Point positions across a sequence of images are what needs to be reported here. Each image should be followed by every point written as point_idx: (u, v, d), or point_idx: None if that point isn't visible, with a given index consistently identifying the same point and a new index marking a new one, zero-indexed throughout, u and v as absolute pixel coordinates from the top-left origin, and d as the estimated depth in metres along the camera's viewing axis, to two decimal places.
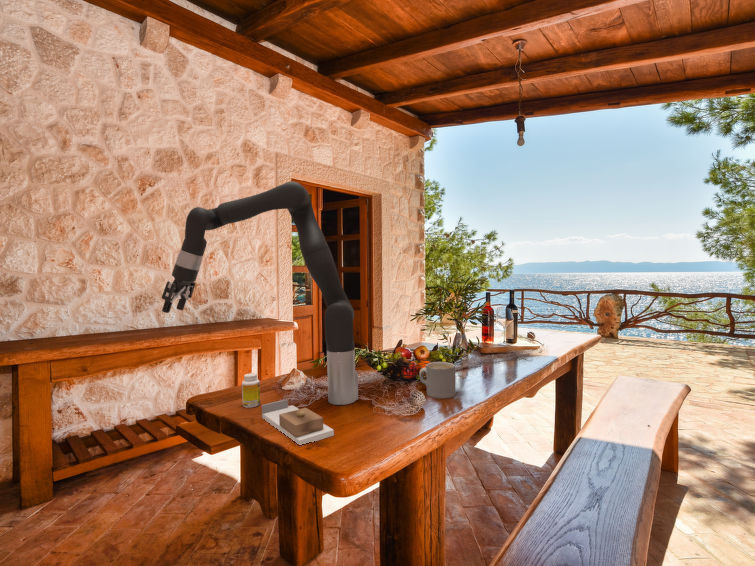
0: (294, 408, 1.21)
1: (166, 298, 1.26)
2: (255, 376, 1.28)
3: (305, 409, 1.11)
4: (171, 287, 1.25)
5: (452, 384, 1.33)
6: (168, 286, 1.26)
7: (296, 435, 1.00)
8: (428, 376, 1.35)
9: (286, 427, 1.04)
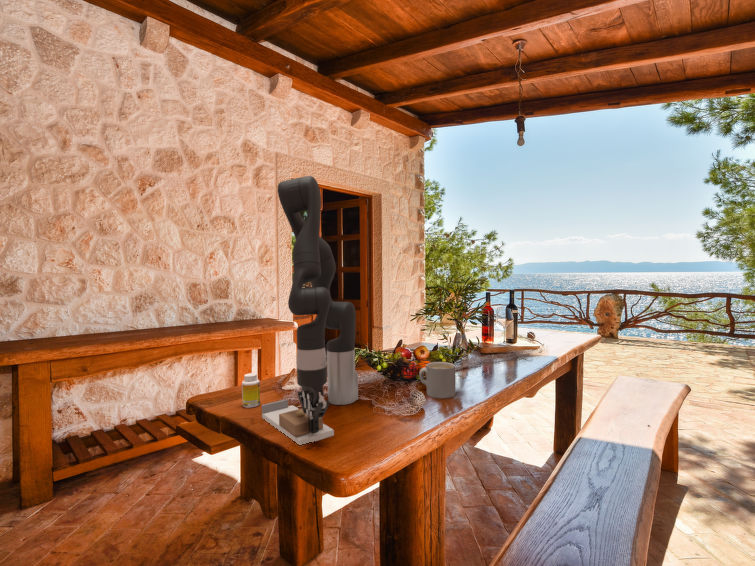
0: (294, 408, 1.21)
1: (320, 415, 0.99)
2: (255, 376, 1.28)
3: None
4: (326, 407, 0.97)
5: (452, 384, 1.33)
6: (322, 408, 0.96)
7: (296, 435, 1.00)
8: (428, 376, 1.35)
9: (286, 426, 1.04)
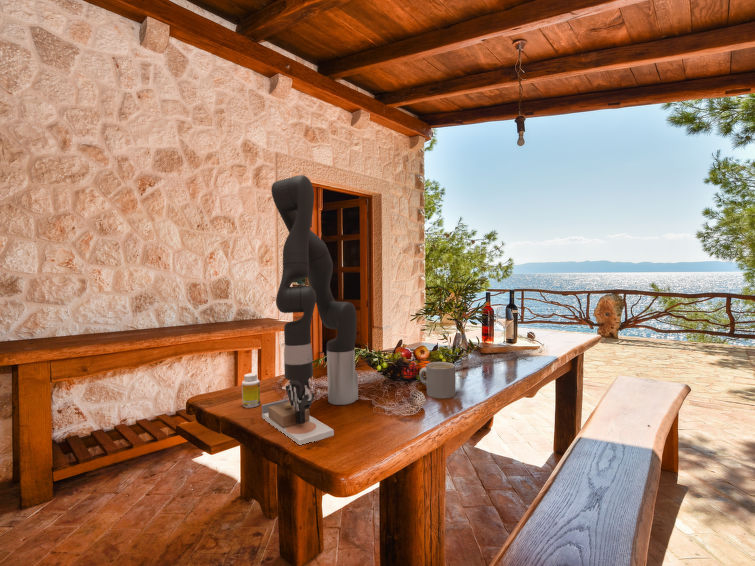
0: None
1: (306, 407, 1.05)
2: (255, 376, 1.28)
3: None
4: (311, 399, 1.03)
5: (452, 384, 1.33)
6: (308, 400, 1.02)
7: (283, 426, 1.06)
8: (428, 376, 1.35)
9: (274, 418, 1.10)
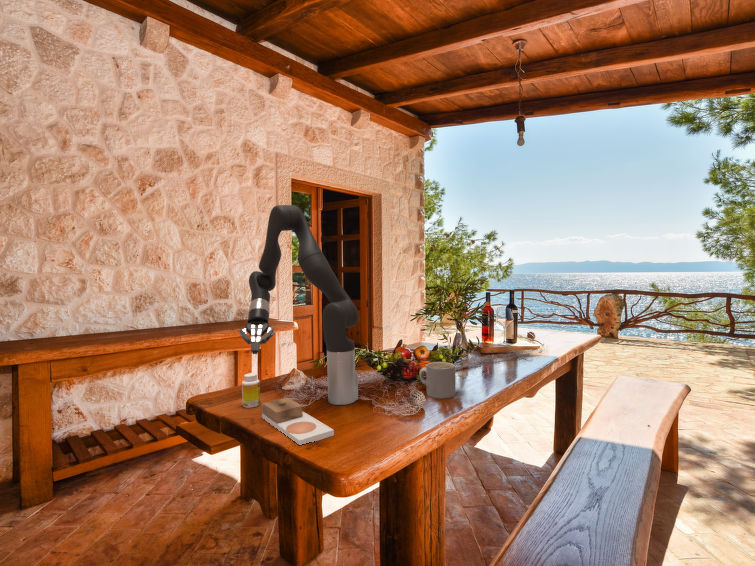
0: None
1: None
2: (255, 376, 1.28)
3: (287, 398, 1.21)
4: (240, 333, 1.41)
5: (452, 384, 1.33)
6: (241, 335, 1.42)
7: (277, 421, 1.10)
8: (428, 376, 1.35)
9: (268, 414, 1.14)
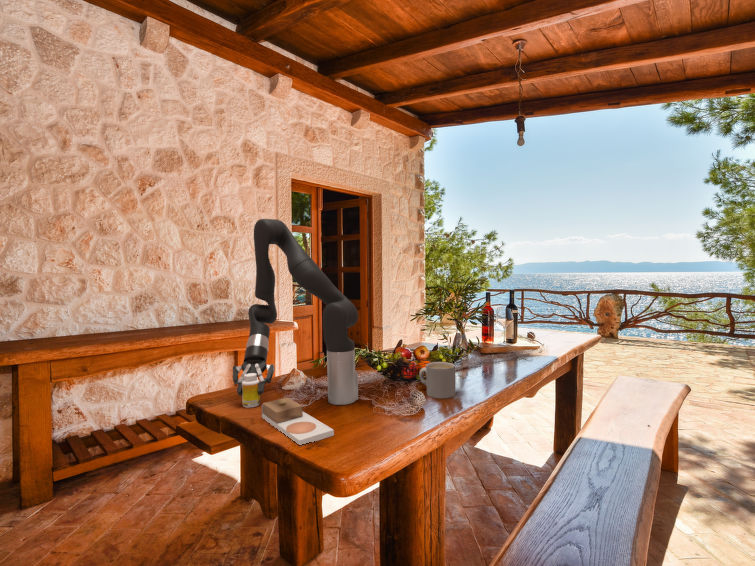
0: None
1: None
2: (255, 376, 1.28)
3: (287, 398, 1.21)
4: (233, 370, 1.32)
5: (452, 384, 1.33)
6: None
7: (277, 421, 1.10)
8: (428, 376, 1.35)
9: (268, 414, 1.14)
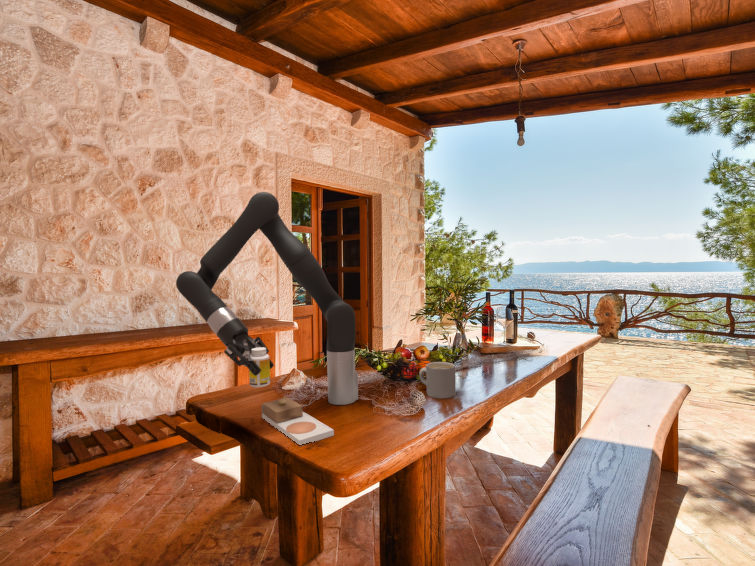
0: None
1: (241, 360, 1.04)
2: None
3: (287, 398, 1.21)
4: (231, 350, 1.04)
5: (452, 384, 1.33)
6: (229, 353, 1.04)
7: (277, 421, 1.10)
8: (428, 376, 1.35)
9: (268, 414, 1.14)
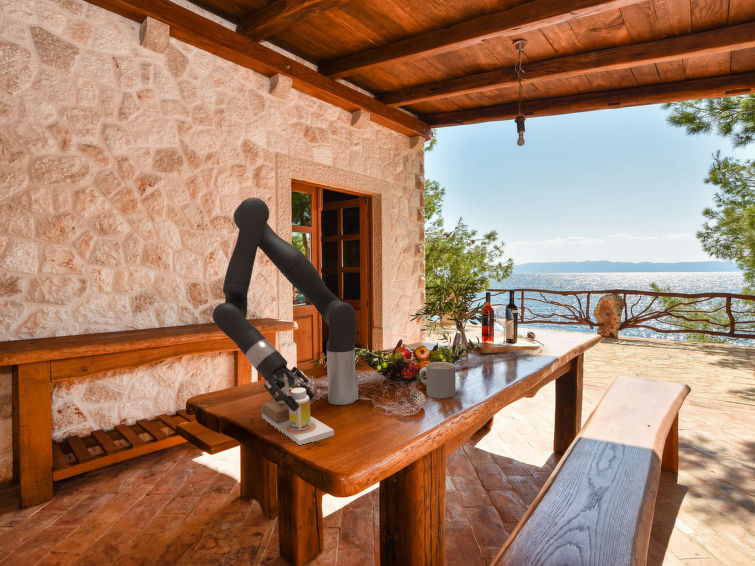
0: None
1: (279, 396, 1.00)
2: None
3: None
4: (270, 384, 1.01)
5: (452, 384, 1.33)
6: (268, 387, 1.01)
7: (277, 421, 1.10)
8: (428, 376, 1.35)
9: (268, 414, 1.14)
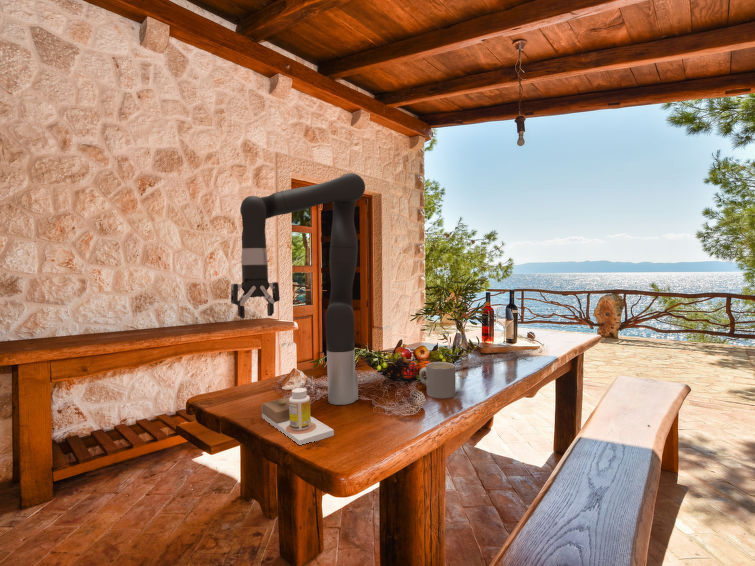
0: None
1: (232, 301, 1.15)
2: None
3: (287, 398, 1.21)
4: (233, 288, 1.15)
5: (452, 384, 1.33)
6: (232, 288, 1.16)
7: (277, 421, 1.10)
8: (428, 376, 1.35)
9: (268, 414, 1.14)
